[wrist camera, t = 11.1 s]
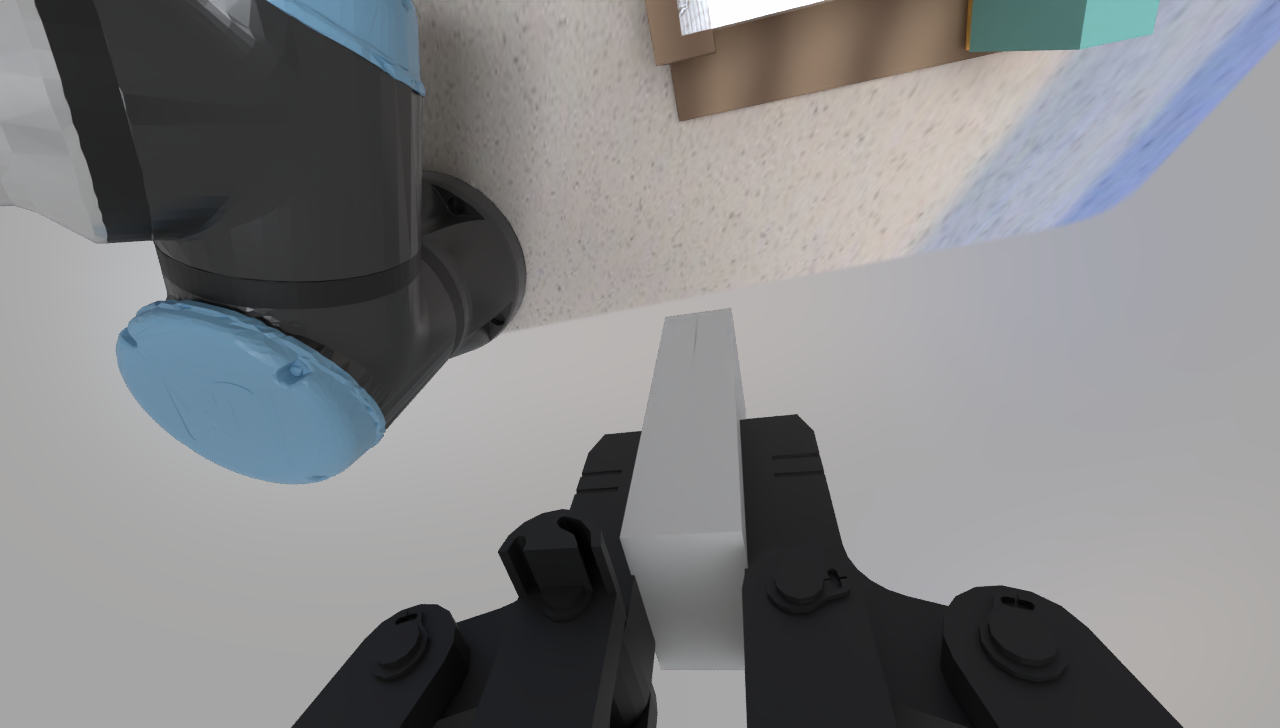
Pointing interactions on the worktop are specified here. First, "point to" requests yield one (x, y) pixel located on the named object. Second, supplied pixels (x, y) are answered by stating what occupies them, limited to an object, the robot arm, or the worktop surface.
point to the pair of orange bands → (968, 24)
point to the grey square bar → (739, 11)
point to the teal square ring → (1057, 23)
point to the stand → (802, 49)
